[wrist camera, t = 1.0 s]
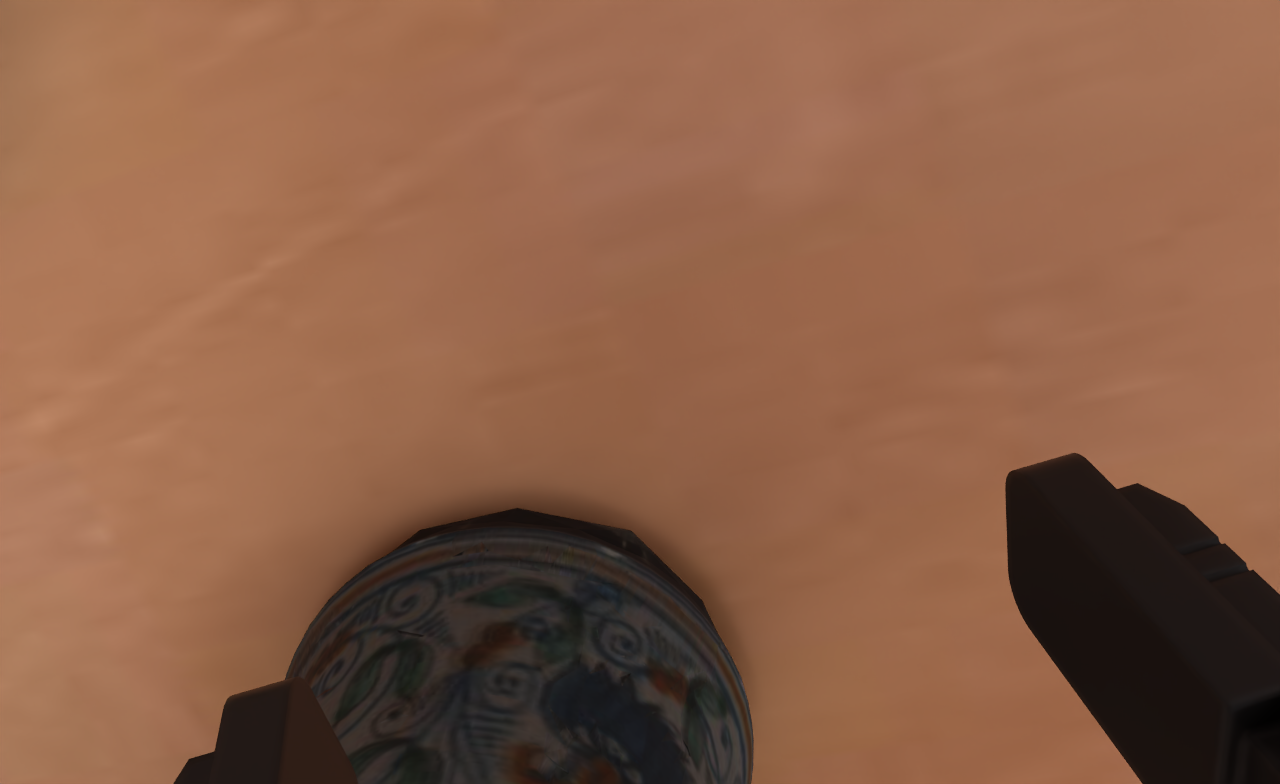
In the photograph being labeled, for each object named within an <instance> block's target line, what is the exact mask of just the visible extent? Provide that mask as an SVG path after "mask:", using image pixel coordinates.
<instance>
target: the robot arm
mask: <svg viewBox="0 0 1280 784" xmlns="http://www.w3.org/2000/svg"><path fill="white" fill-rule="evenodd" d="M1005 490H1006V519H1007V549H1008V573H1009V580H1010V585H1011V589H1012V593H1013V596H1014V599H1015V601H1016V604H1017V606H1018V609H1019V611H1020V613H1021V615H1022V617H1023V619H1024V621H1025V622H1026V624H1027V626H1028V627H1029V629H1030V630H1031V631H1032V633H1033V634H1034V636H1035V637H1036V638H1037V640H1038V641H1039V642H1040V644H1041V645H1042V646H1043V648H1044V649H1045V651H1046V652H1047V653H1048V655H1049V656H1050V657H1051V659H1052V660H1053V662H1054V663H1055V664H1056V666H1057V667H1058V668H1059V670H1060V671H1061V672H1062V674H1063V675H1064V677H1065V678H1066V679H1067V681H1068V682H1069V683H1070V685H1071V686H1072V688H1073V689H1074V690H1075V692H1076V693H1077V694H1078V696H1079V697H1080V699H1081V700H1082V701H1083V703H1084V704H1085V705H1086V707H1087V708H1088V709H1089V711H1090V712H1091V714H1092V715H1093V716H1094V718H1095V719H1096V720H1097V722H1098V723H1099V725H1100V726H1101V727H1102V729H1103V730H1104V731H1105V733H1106V734H1107V735H1108V737H1109V738H1110V740H1111V741H1112V742H1113V744H1114V745H1115V746H1116V748H1117V749H1118V751H1119V752H1120V753H1121V755H1122V756H1123V757H1124V759H1125V760H1126V762H1127V763H1128V764H1129V766H1130V767H1131V768H1132V770H1133V771H1134V772H1135V774H1136V775H1137V777H1138V778H1139V779H1140V781H1141V782H1142V783H1143V784H1280V594H1278V593H1277V592H1276V591H1275V590H1274V589H1273V588H1272V587H1271V586H1270V585H1269V584H1268V583H1267V582H1266V581H1265V580H1263V579H1262V578H1261V577H1260V576H1259V575H1258V574H1257V573H1256V572H1255V571H1254V570H1251V571H1249V570H1248V568H1247V566H1246V563H1245V562H1244V561H1243V560H1242V559H1241V558H1240V557H1239V556H1238V555H1237V554H1236V553H1235V552H1234V551H1233V550H1231V549H1230V548H1229V547H1228V546H1227V545H1226V544H1225V543H1224V544H1221V543H1220V542H1219V540H1218V536H1217V535H1215V534H1214V533H1213V532H1212V531H1211V530H1210V529H1209V528H1208V527H1207V526H1206V525H1205V524H1204V523H1203V522H1202V521H1201V520H1199V519H1198V518H1197V517H1196V516H1195V515H1194V514H1193V513H1192V512H1191V511H1190V510H1189V509H1188V508H1187V507H1186V506H1185V505H1182V504H1180V503H1178V502H1176V501H1174V500H1172V499H1170V498H1168V497H1166V496H1163V495H1161V494H1159V493H1157V492H1155V491H1153V490H1151V489H1149V488H1147V487H1144V486H1142V485H1140V484H1138V483H1136V484H1133V485H1130V486H1126V487H1123V488H1119V489H1116V488H1115V487H1114V486H1113V485H1112V484H1111V483H1110V482H1109V481H1108V480H1107V479H1106V478H1105V477H1104V476H1103V475H1102V474H1101V473H1100V472H1099V471H1098V470H1097V469H1096V468H1095V467H1094V466H1093V465H1092V464H1091V463H1090V462H1089V461H1088V460H1087V459H1086V458H1085V457H1083V456H1081V455H1080V454H1077V453H1071V454H1068V455H1065V456H1061V457H1058V458H1054V459H1051V460H1047V461H1044V462H1041V463H1037V464H1034V465H1030V466H1027V467H1023V468H1020V469H1016V470H1013V471H1011V472H1009V474H1008V476H1007V478H1006V488H1005ZM174 784H358V780H357V777H356V774H355V772H354V769H353V767H352V765H351V762H350V761H349V759H348V757H347V755H346V753H345V751H344V749H343V747H342V746H341V744H340V742H339V740H338V738H337V736H336V734H335V732H334V731H333V729H332V727H331V725H330V723H329V721H328V719H327V718H326V716H325V714H324V712H323V710H322V708H321V706H320V704H319V703H318V701H317V699H316V697H315V695H314V693H313V691H312V689H311V688H310V686H309V684H308V683H307V682H306V681H305V680H304V679H303V678H302V677H294V678H290V679H287V680H283V681H280V682H277V683H273V684H270V685H266V686H263V687H259V688H256V689H253V690H249V691H246V692H242V693H239V694H235V695H232V696H230V697H229V698H228V699H227V701H226V703H225V705H224V709H223V713H222V718H221V723H220V728H219V733H218V738H217V743H216V748H215V752H212V753H208V754H205V755H201V756H198V757H195V758H191V759H189V760H188V762H187V763H186V765H185V766H184V768H183V769H182V771H181V773H180V774H179V776H178V777H177V779H176V781H175V782H174Z"/></svg>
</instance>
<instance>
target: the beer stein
mask: <svg viewBox="0 0 1280 784" xmlns="http://www.w3.org/2000/svg"><path fill="white" fill-rule="evenodd" d="M294 677H302V678H303V679H304V680H305V681H306V682H307V683H308V684H309V686H310V688H311V689H312V691H313V693H314V695H315V697H316V699H317V701H318V703H319V704H320V706H321V708H322V710H323V712H324V714H325V716H326V718H327V719H328V721H329V723H330V725H331V727H332V729H333V731H334V732H335V734H336V736H337V738H338V740H339V742H340V744H341V746H342V747H343V749H344V751H345V753H346V755H347V757H348V759H349V761H350V762H351V765H352V767H353V769H354V772H355V774H356V777H357V780H358V784H751V780H752V771H753V730H752V721H751V715H750V710H749V704H748V700H747V696H746V693H745V689H744V686H743V682H742V679H741V676H740V674H739V672H738V670H737V668H736V666H735V664H734V661H733V659H732V657H731V655H730V654H729V652H728V650H727V648H726V647H725V645H724V643H723V642H722V640H721V638H720V637H719V635H718V633H717V631H716V629H715V627H714V625H713V623H712V621H711V618H710V616H709V614H708V612H707V610H706V608H705V606H704V604H703V601H702V600H701V599H700V598H699V597H698V596H697V595H696V594H695V593H694V592H693V591H692V590H691V589H690V588H689V587H688V586H687V585H686V584H685V583H684V582H683V581H682V580H681V579H680V578H679V577H678V576H677V575H676V574H675V573H674V572H673V571H672V570H671V569H670V568H668V567H667V566H666V565H665V564H664V563H663V562H662V561H661V560H660V559H659V558H658V557H657V556H656V555H655V554H654V553H653V552H652V551H651V550H650V549H649V548H648V547H647V546H646V545H645V544H644V543H643V542H642V541H641V540H640V539H639V538H638V537H637V536H636V535H635V534H634V533H633V532H632V531H630V530H625V529H620V528H615V527H610V526H605V525H600V524H595V523H590V522H585V521H579V520H574V519H569V518H564V517H559V516H554V515H549V514H544V513H539V512H534V511H529V510H524V509H519V508H516V509H512V510H507V511H503V512H498V513H494V514H489V515H485V516H481V517H476V518H472V519H467V520H463V521H458V522H454V523H450V524H445V525H441V526H436V527H432V528H427V529H423V530H420V531H419V532H417V533H416V534H415V535H413V536H412V537H411V538H410V539H408V540H407V541H406V542H404V543H403V544H402V545H401V546H399V547H398V548H397V549H395V550H394V551H393V552H392V553H390V554H388V555H386V556H384V557H383V558H381V559H379V560H377V561H375V562H374V563H372V564H370V565H368V566H367V567H366V568H365V569H363V570H362V571H361V572H360V573H358V574H357V575H356V576H355V577H353V578H352V579H351V580H350V581H348V582H347V583H346V584H345V585H344V586H343V587H342V588H341V589H340V590H339V591H338V592H337V593H335V594H334V595H333V596H332V597H331V598H330V599H329V600H328V602H327V603H326V604H325V606H324V607H323V608H322V610H321V611H320V612H319V614H318V615H317V616H316V618H315V619H314V620H313V622H312V623H311V624H310V626H309V628H308V630H307V631H306V633H305V635H304V637H303V639H302V641H301V643H300V645H299V646H298V648H297V650H296V652H295V654H294V657H293V659H292V662H291V664H290V666H289V669H288V671H287V674H286V678H285V680H287V679H290V678H294Z"/></svg>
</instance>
